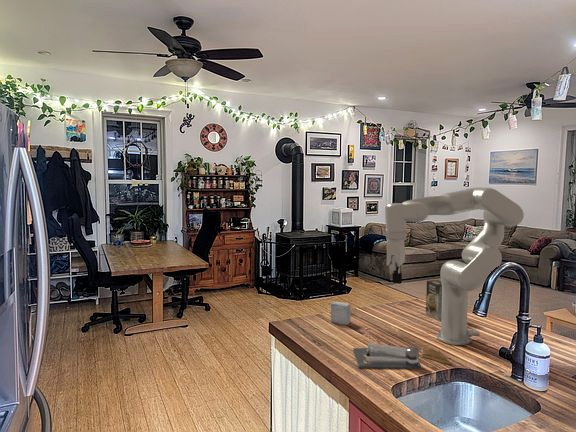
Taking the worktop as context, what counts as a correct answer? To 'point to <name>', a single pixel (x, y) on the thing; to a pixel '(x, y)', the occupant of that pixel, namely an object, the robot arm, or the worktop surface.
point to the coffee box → (434, 299)
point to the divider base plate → (378, 365)
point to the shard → (434, 355)
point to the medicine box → (340, 313)
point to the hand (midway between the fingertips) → (397, 282)
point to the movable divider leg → (393, 350)
